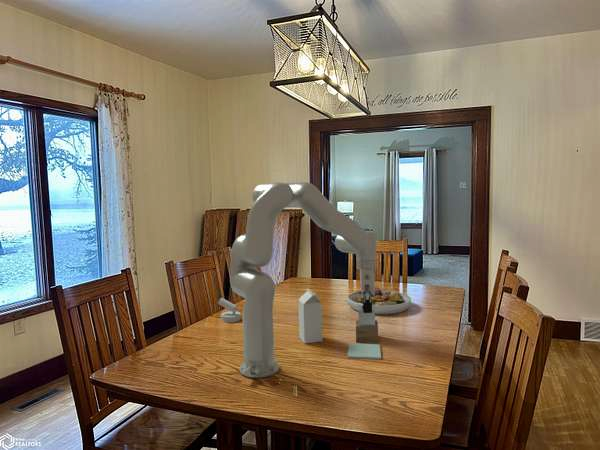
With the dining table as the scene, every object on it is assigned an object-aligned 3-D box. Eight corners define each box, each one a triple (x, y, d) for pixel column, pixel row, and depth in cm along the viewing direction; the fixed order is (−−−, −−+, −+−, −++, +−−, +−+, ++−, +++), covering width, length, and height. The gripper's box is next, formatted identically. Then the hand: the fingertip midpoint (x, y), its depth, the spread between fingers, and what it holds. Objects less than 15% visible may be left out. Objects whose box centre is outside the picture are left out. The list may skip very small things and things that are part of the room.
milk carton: (304, 344, 155) (303, 293, 153) (299, 337, 162) (298, 289, 160) (322, 341, 157) (321, 291, 155) (316, 335, 164) (316, 287, 162)
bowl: (424, 311, 193) (424, 294, 193) (367, 320, 182) (367, 302, 182) (387, 296, 221) (387, 282, 220) (336, 303, 210) (336, 288, 209)
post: (378, 342, 155) (377, 302, 153) (356, 342, 156) (355, 302, 155) (377, 335, 163) (377, 297, 161) (356, 334, 164) (356, 296, 162)
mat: (381, 359, 140) (381, 357, 140) (347, 357, 141) (347, 356, 141) (379, 345, 152) (379, 344, 152) (349, 344, 153) (349, 343, 153)
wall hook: (223, 295, 192) (243, 296, 188) (224, 315, 192) (244, 317, 189) (213, 300, 184) (234, 301, 180) (214, 321, 184) (235, 323, 181)
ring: (375, 325, 155) (375, 310, 155) (358, 325, 156) (358, 309, 156) (374, 320, 161) (374, 305, 161) (358, 320, 162) (358, 305, 162)
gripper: (377, 268, 148) (378, 316, 149) (376, 259, 165) (376, 302, 166) (356, 268, 149) (357, 315, 151) (356, 259, 166) (357, 302, 168)
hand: (367, 308), depth 158 cm, fingers open, 9 cm apart
